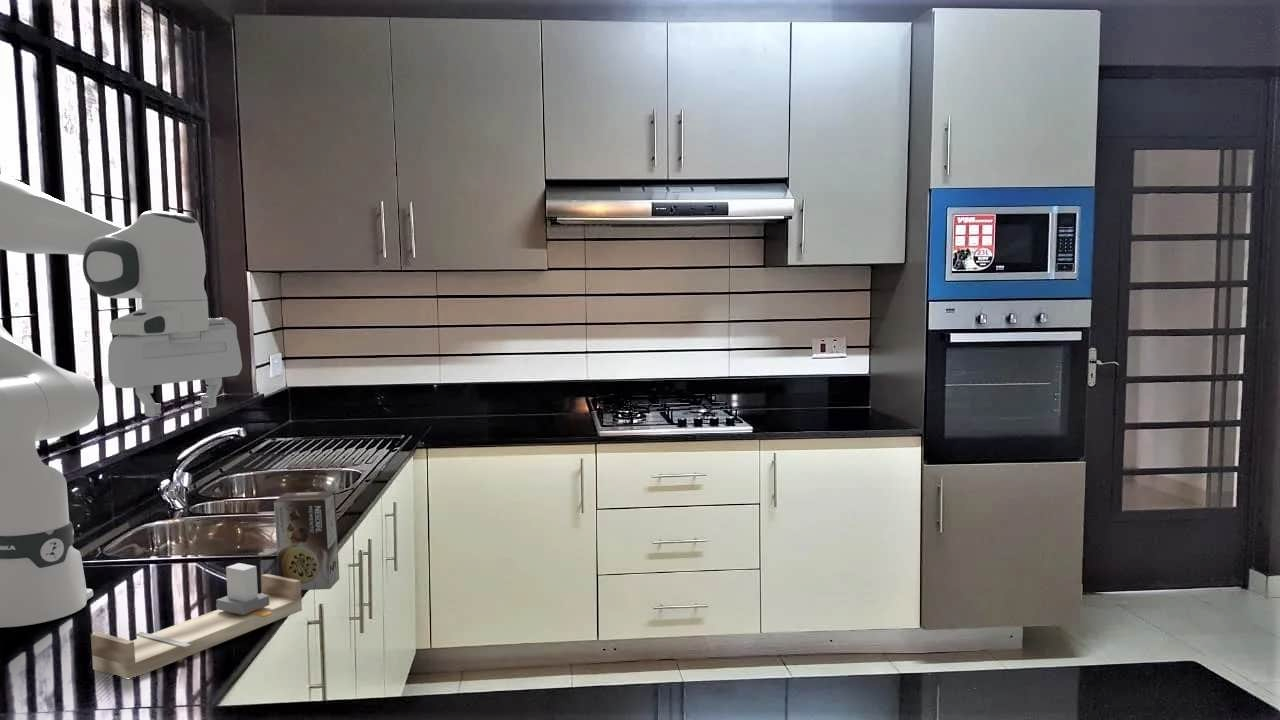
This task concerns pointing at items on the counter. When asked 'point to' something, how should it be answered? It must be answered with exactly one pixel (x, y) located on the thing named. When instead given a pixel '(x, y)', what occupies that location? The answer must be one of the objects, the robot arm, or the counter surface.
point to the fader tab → (242, 590)
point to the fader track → (192, 633)
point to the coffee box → (307, 538)
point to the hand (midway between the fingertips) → (181, 411)
